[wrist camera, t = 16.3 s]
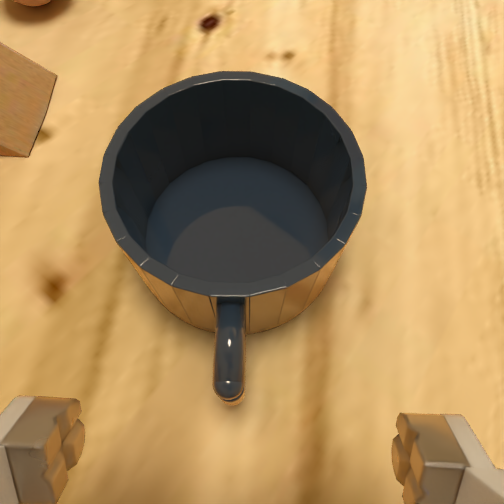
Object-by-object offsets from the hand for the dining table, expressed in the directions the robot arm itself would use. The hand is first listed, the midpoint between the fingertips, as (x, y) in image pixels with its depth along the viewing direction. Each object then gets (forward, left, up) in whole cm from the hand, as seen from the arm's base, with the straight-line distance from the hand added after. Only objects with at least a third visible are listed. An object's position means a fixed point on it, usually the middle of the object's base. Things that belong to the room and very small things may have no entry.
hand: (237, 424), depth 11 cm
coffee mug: (+6, -8, -14) cm, 17 cm away
